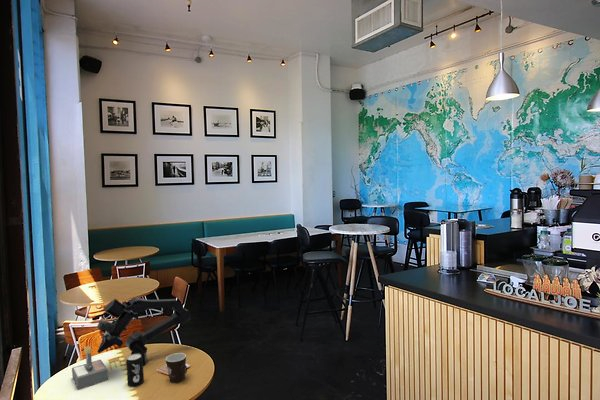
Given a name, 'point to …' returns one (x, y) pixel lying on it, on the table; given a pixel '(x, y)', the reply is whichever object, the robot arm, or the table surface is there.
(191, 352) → the table surface
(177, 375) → the coffee mug
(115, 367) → the table surface
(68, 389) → the table surface
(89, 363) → the breaker lever
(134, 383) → the beverage can
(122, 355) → the table surface
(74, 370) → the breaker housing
